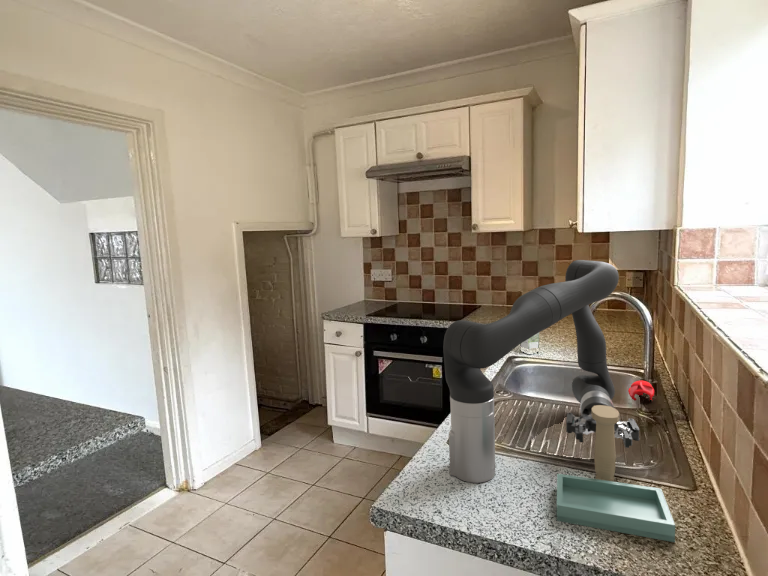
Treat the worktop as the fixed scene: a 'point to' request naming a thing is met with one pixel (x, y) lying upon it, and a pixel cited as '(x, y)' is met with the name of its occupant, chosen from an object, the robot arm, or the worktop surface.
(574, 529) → the worktop surface
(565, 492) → the tray
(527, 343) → the syrup box
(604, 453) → the handle
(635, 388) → the red lobed piece
